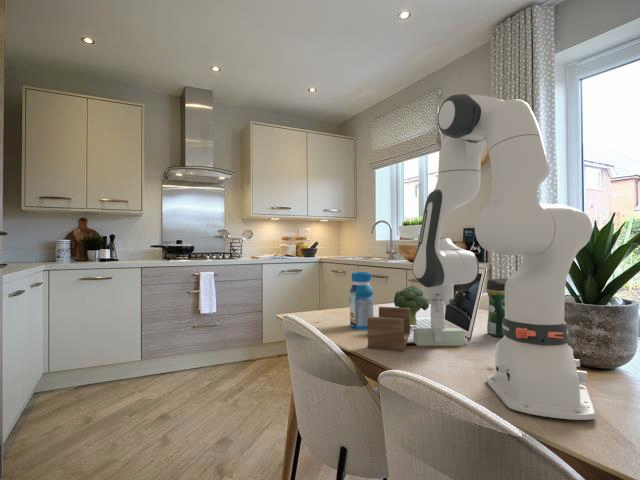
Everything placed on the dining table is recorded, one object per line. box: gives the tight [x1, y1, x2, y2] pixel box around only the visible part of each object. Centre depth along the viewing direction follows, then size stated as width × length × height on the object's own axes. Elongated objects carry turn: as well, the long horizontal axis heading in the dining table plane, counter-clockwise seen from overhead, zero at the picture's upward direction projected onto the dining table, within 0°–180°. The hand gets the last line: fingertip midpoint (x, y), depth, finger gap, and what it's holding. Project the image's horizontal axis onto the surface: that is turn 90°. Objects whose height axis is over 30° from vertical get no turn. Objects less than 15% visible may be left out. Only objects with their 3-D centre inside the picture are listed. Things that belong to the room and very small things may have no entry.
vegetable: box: [393, 285, 430, 326], centre depth 135 cm, size 12×13×15 cm
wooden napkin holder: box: [367, 306, 411, 353], centre depth 116 cm, size 20×10×9 cm, turn 161°
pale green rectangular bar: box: [412, 327, 465, 347], centre depth 113 cm, size 14×4×4 cm, turn 93°
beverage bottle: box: [349, 271, 375, 331], centre depth 133 cm, size 8×8×20 cm
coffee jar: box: [486, 277, 508, 338], centre depth 124 cm, size 10×8×19 cm
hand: (438, 338), depth 113 cm, fingers closed on pale green rectangular bar, 5 cm apart
